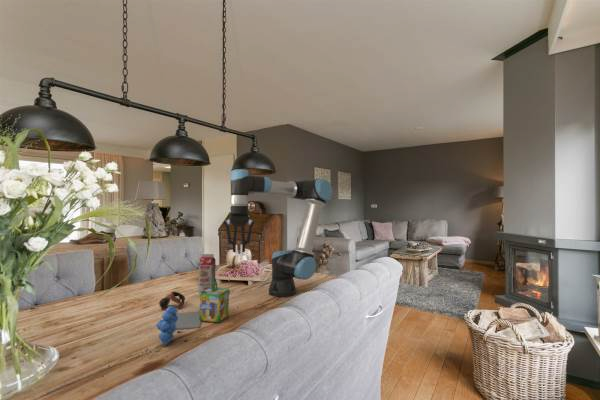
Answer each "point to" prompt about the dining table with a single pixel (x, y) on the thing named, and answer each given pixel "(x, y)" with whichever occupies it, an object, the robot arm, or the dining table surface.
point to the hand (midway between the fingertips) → (238, 259)
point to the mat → (188, 320)
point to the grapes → (167, 325)
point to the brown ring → (166, 300)
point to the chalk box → (214, 304)
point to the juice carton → (206, 272)
